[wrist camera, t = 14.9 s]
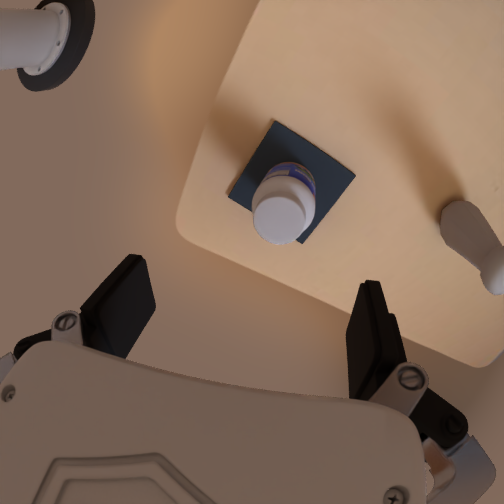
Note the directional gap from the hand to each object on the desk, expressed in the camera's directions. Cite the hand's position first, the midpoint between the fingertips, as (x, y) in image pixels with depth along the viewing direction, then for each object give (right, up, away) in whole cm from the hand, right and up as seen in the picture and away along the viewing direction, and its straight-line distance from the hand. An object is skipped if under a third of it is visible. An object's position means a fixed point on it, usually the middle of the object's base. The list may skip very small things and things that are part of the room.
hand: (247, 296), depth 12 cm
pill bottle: (+4, +9, +18) cm, 20 cm away
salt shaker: (+24, +6, +16) cm, 29 cm away
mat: (+4, +9, +18) cm, 21 cm away
